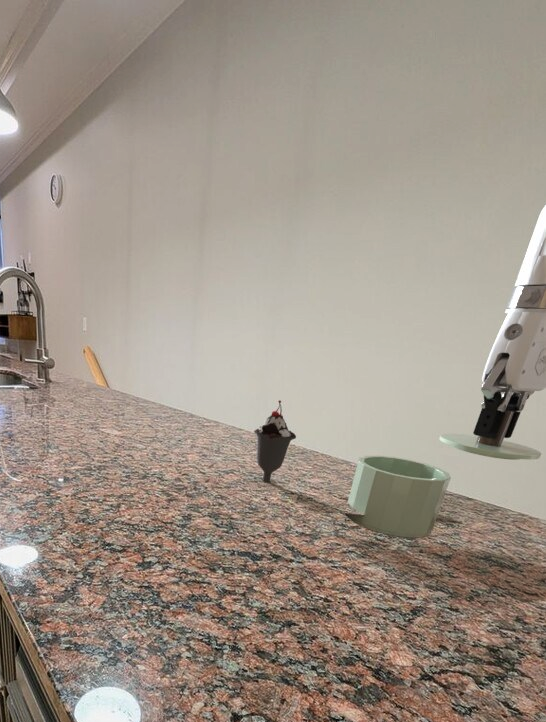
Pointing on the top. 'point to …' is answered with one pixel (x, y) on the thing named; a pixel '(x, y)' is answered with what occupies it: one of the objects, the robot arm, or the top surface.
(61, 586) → the top surface
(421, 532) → the canister
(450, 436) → the lid
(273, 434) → the sundae
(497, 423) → the robot arm
